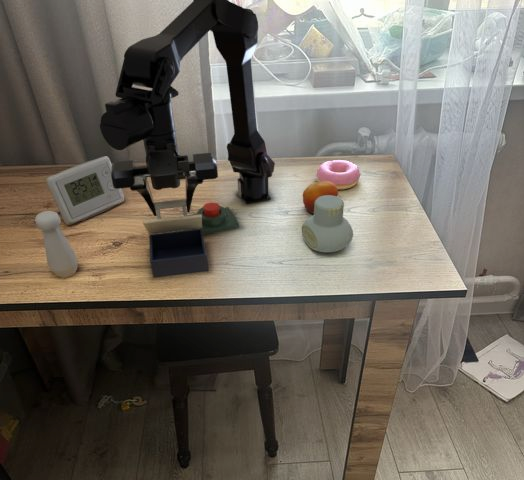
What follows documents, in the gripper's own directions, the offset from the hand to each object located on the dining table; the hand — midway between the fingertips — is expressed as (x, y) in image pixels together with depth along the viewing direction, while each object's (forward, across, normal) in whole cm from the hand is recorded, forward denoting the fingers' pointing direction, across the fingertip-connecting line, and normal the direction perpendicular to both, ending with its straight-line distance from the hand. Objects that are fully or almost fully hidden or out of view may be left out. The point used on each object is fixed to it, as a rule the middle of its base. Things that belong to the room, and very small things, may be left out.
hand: (171, 213), depth 98 cm
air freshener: (+11, +31, -1) cm, 33 cm away
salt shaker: (+11, -23, +1) cm, 25 cm away
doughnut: (+10, +42, +26) cm, 50 cm away
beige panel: (+3, 0, +1) cm, 3 cm away
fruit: (+10, +34, +14) cm, 38 cm away
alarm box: (+10, +8, +13) cm, 19 cm away
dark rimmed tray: (+11, 0, 0) cm, 11 cm away
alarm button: (+8, +8, +13) cm, 17 cm away
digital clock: (+10, -19, +25) cm, 33 cm away
